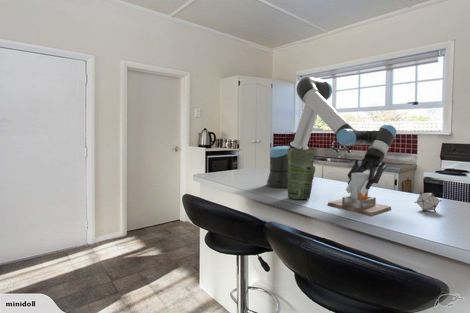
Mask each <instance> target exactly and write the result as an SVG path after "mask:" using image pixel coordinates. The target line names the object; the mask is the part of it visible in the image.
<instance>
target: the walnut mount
mask: <svg viewBox="0 0 470 313" xmlns="http://www.w3.org/2000/svg"><path fill="white" fill-rule="evenodd" d="M376 199H377V198H376V197H374V196H369V195H368V199H365V200H362V201H360V200H356V199H351V198H350V195H346V196H342V198H340V199H337V200H331V201H327V205H328V206H331V207H334V208H339V209H342V210H343V209H344V210H346V211H352V212H355V213H359V214H363V215H367V216H374V215H378V214H381V213H384V212H387V211H390V210H392V206H391V205H386V204H382V203H377V202H376V201H377V200H376Z"/></svg>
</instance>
